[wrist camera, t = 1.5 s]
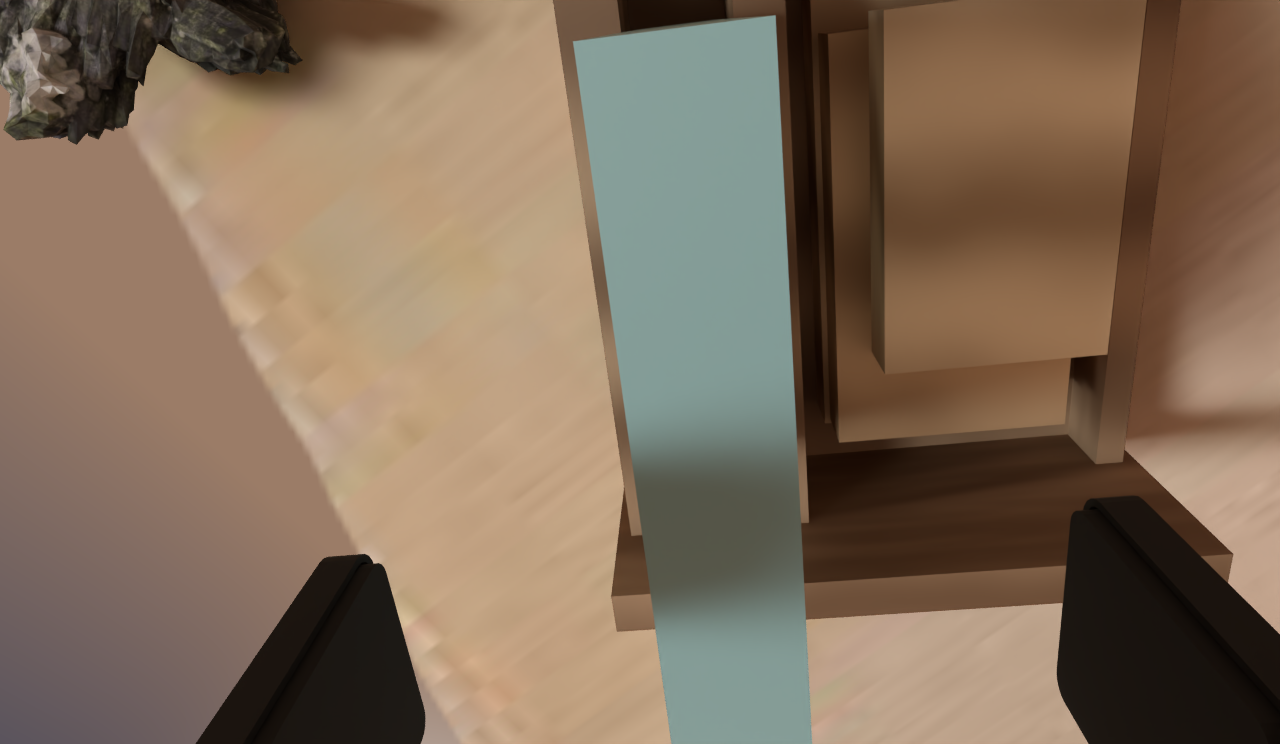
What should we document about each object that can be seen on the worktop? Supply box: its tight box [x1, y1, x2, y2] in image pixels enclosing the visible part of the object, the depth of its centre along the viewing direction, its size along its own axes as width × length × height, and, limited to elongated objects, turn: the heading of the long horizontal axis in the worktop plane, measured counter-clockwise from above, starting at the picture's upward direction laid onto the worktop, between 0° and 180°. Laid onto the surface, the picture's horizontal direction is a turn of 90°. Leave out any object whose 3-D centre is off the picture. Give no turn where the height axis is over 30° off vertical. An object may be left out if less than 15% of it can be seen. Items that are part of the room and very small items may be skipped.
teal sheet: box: [573, 15, 812, 744], centre depth 22 cm, size 14×2×20 cm, turn 7°
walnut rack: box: [553, 0, 1233, 632], centre depth 27 cm, size 24×20×10 cm
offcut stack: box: [802, 0, 1147, 443], centre depth 28 cm, size 16×9×6 cm, turn 7°
